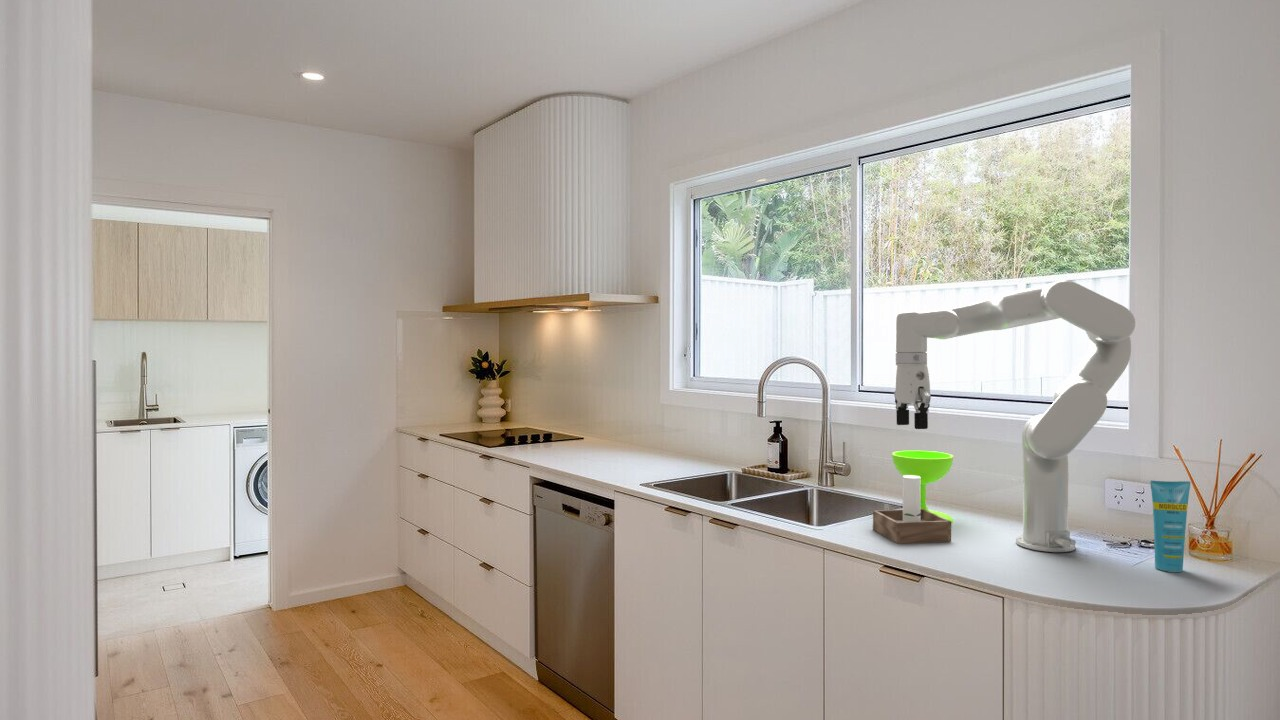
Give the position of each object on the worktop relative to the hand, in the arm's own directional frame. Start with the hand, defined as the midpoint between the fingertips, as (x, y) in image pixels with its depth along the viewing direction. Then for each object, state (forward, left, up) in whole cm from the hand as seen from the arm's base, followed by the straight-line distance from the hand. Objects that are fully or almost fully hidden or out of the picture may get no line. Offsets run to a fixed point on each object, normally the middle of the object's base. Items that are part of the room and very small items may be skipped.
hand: (911, 426), depth 190 cm
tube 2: (-35, -41, -28) cm, 61 cm away
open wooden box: (0, 0, -28) cm, 28 cm away
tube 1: (0, 0, -28) cm, 28 cm away
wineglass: (+17, -11, -28) cm, 34 cm away
